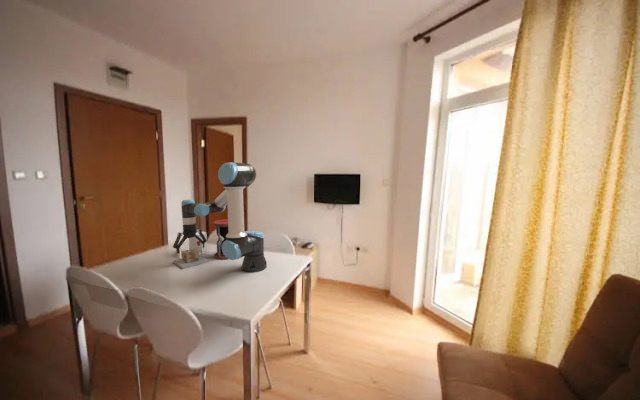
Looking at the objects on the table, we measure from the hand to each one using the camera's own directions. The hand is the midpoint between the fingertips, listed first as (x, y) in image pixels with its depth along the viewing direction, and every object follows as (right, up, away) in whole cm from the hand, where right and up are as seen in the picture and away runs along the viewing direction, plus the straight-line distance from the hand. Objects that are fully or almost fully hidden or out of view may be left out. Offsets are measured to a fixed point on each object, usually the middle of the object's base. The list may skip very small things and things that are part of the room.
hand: (191, 255), depth 159 cm
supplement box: (-5, -3, +20) cm, 21 cm away
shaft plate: (-1, -5, +1) cm, 5 cm away
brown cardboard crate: (-1, -3, +1) cm, 3 cm away
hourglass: (+18, -4, +14) cm, 23 cm away
